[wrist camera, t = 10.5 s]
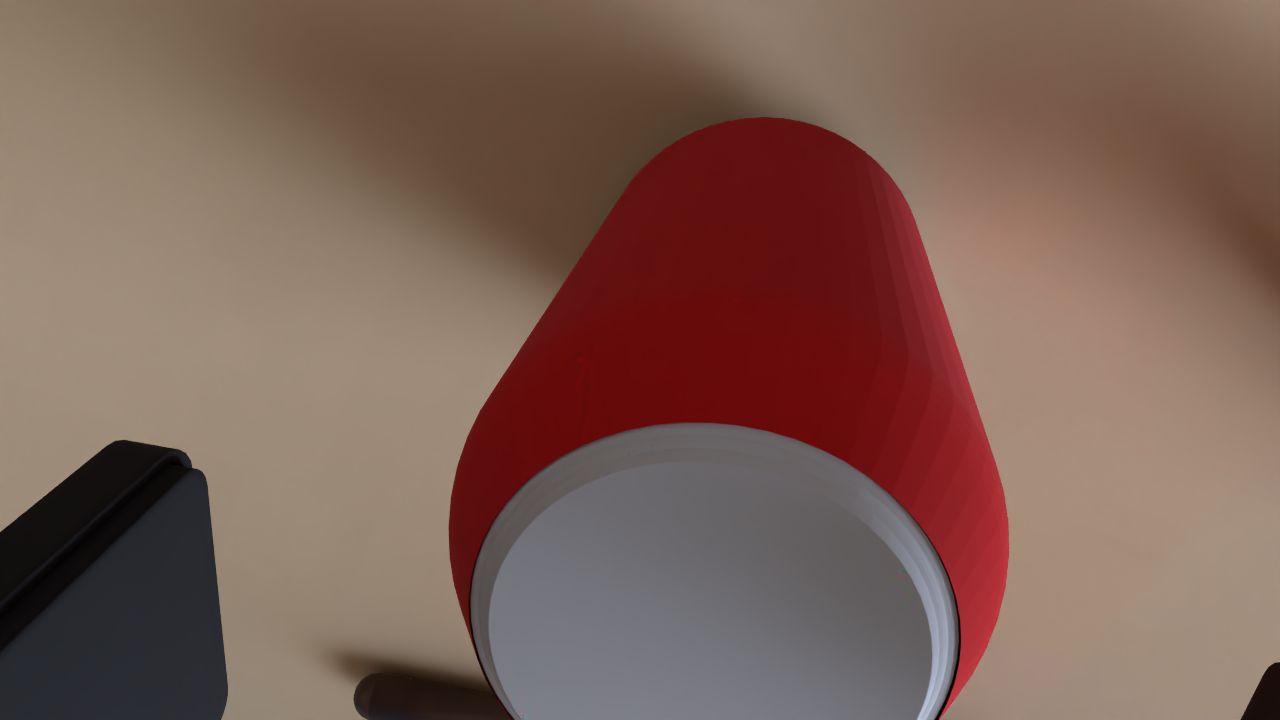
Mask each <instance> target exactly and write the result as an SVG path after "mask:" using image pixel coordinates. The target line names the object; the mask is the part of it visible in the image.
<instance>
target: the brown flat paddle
mask: <svg viewBox="0 0 1280 720" xmlns="http://www.w3.org/2000/svg"><path fill="white" fill-rule="evenodd" d="M354 705H355V708H356V710H357V712H358V713H359V714H360V715H361V716H362V717H363V718H365V719H367V720H511V719H510V718H509V716H508V715H507V714H506V712H505V711H504V709H503V708H502V706H501V705H500V703H499V702H498V700H497V699H496V697H495V696H494V695H491V694H486V693H481V692H476V691H471V690H466V689H461V688H456V687H451V686H446V685H441V684H436V683H431V682H426V681H421V680H416V679H411V678H406V677H401V676H396V675H391V674H386V673H373V674H370V675H368V676H366V677H365V678H364V679H362V680H361V681H360V683H359V684H358V685H357V687H356V689H355V693H354Z"/></svg>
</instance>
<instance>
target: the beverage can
mask: <svg viewBox="0 0 1280 720" xmlns="http://www.w3.org/2000/svg"><path fill="white" fill-rule="evenodd" d="M449 550H450V562H451V568H452V575H453V581H454V586H455V589H456V593H457V597H458V600H459V604H460V607H461V611H462V614H463V617H464V620H465V623H466V626H467V629H468V632H469V635H470V638H471V641H472V644H473V647H474V650H475V653H476V656H477V659H478V662H479V664H480V667H481V669H482V672H483V674H484V677H485V679H486V681H487V683H488V685H489V686H490V688H491V690H492V692H493V694H494V696H495V697H496V699H497V700H498V702H499V703H500V705H501V706H502V708H503V709H504V711H505V712H506V714H507V715H508V716H509V718H510V719H511V720H940V718H941V717H942V716H943V714H944V713H945V712H946V710H947V709H948V708H949V706H950V705H951V704H952V702H953V701H954V699H955V698H956V697H957V695H958V694H959V693H960V691H961V690H962V688H963V687H964V685H965V684H966V683H967V681H968V680H969V678H970V677H971V676H972V674H973V672H974V670H975V669H976V667H977V665H978V663H979V661H980V659H981V657H982V656H983V654H984V652H985V650H986V648H987V646H988V643H989V640H990V638H991V635H992V633H993V630H994V627H995V625H996V622H997V619H998V616H999V612H1000V608H1001V603H1002V599H1003V595H1004V591H1005V586H1006V577H1007V568H1008V559H1009V531H1008V516H1007V510H1006V503H1005V497H1004V491H1003V487H1002V484H1001V480H1000V477H999V473H998V470H997V466H996V463H995V460H994V457H993V454H992V451H991V448H990V445H989V442H988V439H987V436H986V433H985V430H984V427H983V424H982V421H981V418H980V414H979V411H978V408H977V405H976V402H975V399H974V396H973V393H972V390H971V387H970V384H969V381H968V378H967V375H966V372H965V369H964V366H963V363H962V360H961V357H960V354H959V351H958V348H957V345H956V342H955V339H954V336H953V333H952V330H951V327H950V324H949V321H948V318H947V315H946V312H945V309H944V306H943V303H942V300H941V297H940V294H939V291H938V288H937V285H936V282H935V279H934V276H933V273H932V270H931V267H930V264H929V260H928V257H927V254H926V251H925V248H924V245H923V242H922V239H921V236H920V233H919V230H918V227H917V224H916V221H915V219H914V216H913V214H912V212H911V209H910V207H909V205H908V203H907V201H906V199H905V198H904V196H903V194H902V192H901V190H900V189H899V188H898V186H897V185H896V184H895V182H894V181H893V179H892V178H891V177H890V175H889V174H888V173H887V172H886V171H885V170H884V169H883V168H882V167H881V166H880V165H879V164H878V163H877V162H876V161H875V160H874V159H873V158H872V157H871V156H869V155H868V154H867V153H866V152H865V151H863V150H862V149H860V148H859V147H858V146H856V145H855V144H853V143H852V142H850V141H848V140H847V139H845V138H843V137H841V136H839V135H837V134H835V133H833V132H831V131H828V130H826V129H823V128H821V127H818V126H815V125H812V124H808V123H805V122H801V121H795V120H789V119H784V118H768V117H760V118H744V119H738V120H731V121H726V122H723V123H719V124H715V125H711V126H709V127H706V128H703V129H701V130H698V131H695V132H693V133H691V134H689V135H687V136H685V137H683V138H681V139H680V140H678V141H676V142H675V143H673V144H672V145H670V146H669V147H667V148H665V149H664V150H663V151H662V152H660V153H659V154H658V155H657V156H655V157H654V158H653V159H652V160H650V161H649V162H648V163H647V164H646V165H645V166H644V167H643V168H642V169H641V170H640V171H639V173H638V174H637V175H636V176H635V177H634V179H633V180H632V181H631V182H630V184H629V185H628V186H627V188H626V189H625V191H624V192H623V194H622V196H621V197H620V199H619V200H618V202H617V203H616V205H615V206H614V208H613V209H612V211H611V212H610V214H609V215H608V217H607V218H606V220H605V221H604V223H603V224H602V226H601V227H600V229H599V230H598V232H597V234H596V235H595V237H594V238H593V240H592V241H591V243H590V244H589V246H588V247H587V249H586V250H585V252H584V253H583V255H582V256H581V258H580V259H579V261H578V262H577V264H576V265H575V267H574V268H573V270H572V272H571V273H570V275H569V276H568V278H567V279H566V281H565V282H564V284H563V285H562V287H561V288H560V290H559V291H558V293H557V294H556V296H555V297H554V299H553V300H552V302H551V303H550V305H549V306H548V308H547V310H546V311H545V313H544V314H543V316H542V317H541V319H540V320H539V322H538V323H537V325H536V326H535V328H534V329H533V331H532V332H531V334H530V335H529V337H528V338H527V340H526V341H525V343H524V344H523V346H522V348H521V349H520V351H519V352H518V354H517V355H516V357H515V358H514V360H513V361H512V363H511V364H510V366H509V367H508V369H507V370H506V372H505V373H504V375H503V376H502V378H501V379H500V381H499V382H498V384H497V386H496V387H495V389H494V390H493V392H492V393H491V395H490V396H489V398H488V399H487V401H486V402H485V404H484V406H483V407H482V409H481V410H480V412H479V414H478V416H477V418H476V420H475V422H474V424H473V427H472V429H471V431H470V433H469V435H468V437H467V440H466V443H465V445H464V448H463V451H462V454H461V457H460V460H459V463H458V466H457V471H456V476H455V480H454V485H453V490H452V495H451V505H450V517H449Z"/></svg>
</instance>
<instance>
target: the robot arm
mask: <svg viewBox="0 0 1280 720" xmlns="http://www.w3.org/2000/svg"><path fill="white" fill-rule="evenodd" d="M227 696H228V683H227V673H226V664H225V654H224V644H223V634H222V624H221V614H220V605H219V595H218V585H217V575H216V565H215V555H214V546H213V536H212V526H211V516H210V506H209V496H208V486H207V481H206V477H205V475H204V474H203V472H202V471H200V470H198V469H193V468H192V464H191V460H190V459H189V457H188V456H187V454H186V453H185V452H183V451H181V450H178V449H173V448H167V447H161V446H156V445H150V444H144V443H139V442H133V441H127V440H119V441H114V442H113V443H111V444H109V445H108V446H106V447H105V448H103V449H102V450H101V451H100V452H99V453H97V454H96V455H95V456H94V457H92V458H91V459H90V460H89V461H87V462H86V463H85V464H84V465H83V466H81V467H80V468H79V469H78V470H76V471H75V472H74V473H73V474H71V475H70V476H69V477H68V478H67V479H65V480H64V481H63V482H62V483H60V484H59V485H58V486H57V487H55V488H54V489H53V490H52V491H50V492H49V493H48V494H47V495H46V496H44V497H43V498H42V499H41V500H39V501H38V502H37V503H36V504H34V505H33V506H32V507H31V508H30V509H28V510H27V511H26V512H25V513H23V514H22V515H21V516H20V517H18V518H17V519H16V520H15V521H14V522H12V523H11V524H10V525H9V526H7V527H6V528H5V529H4V530H2V531H1V532H0V720H221V718H222V716H223V713H224V710H225V706H226V702H227ZM1241 720H1280V662H1278V663H1274V664H1272V665H1271V666H1269V667H1268V669H1267V670H1266V672H1265V673H1264V675H1263V677H1262V679H1261V681H1260V683H1259V685H1258V687H1257V689H1256V691H1255V692H1254V694H1253V696H1252V698H1251V700H1250V702H1249V704H1248V706H1247V708H1246V710H1245V712H1244V714H1243V716H1242V718H1241Z"/></svg>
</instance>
